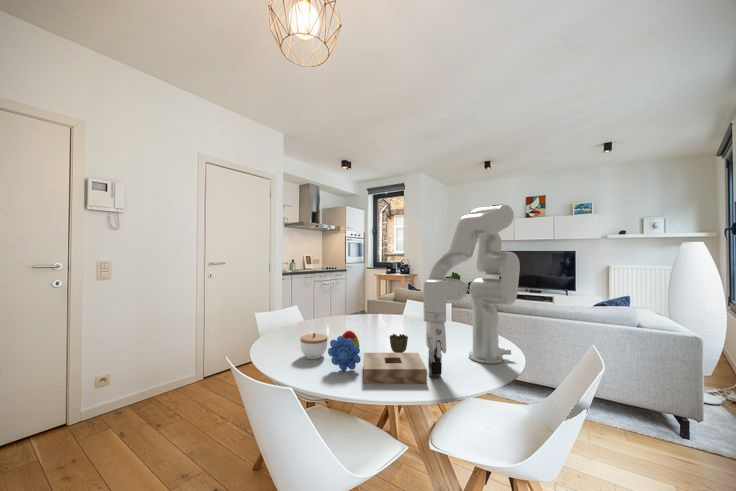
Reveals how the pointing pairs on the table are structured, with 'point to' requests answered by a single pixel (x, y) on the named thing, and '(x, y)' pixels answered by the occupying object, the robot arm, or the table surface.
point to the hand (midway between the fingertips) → (434, 370)
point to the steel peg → (431, 366)
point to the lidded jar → (313, 345)
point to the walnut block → (394, 368)
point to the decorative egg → (351, 337)
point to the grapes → (344, 353)
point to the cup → (398, 343)
